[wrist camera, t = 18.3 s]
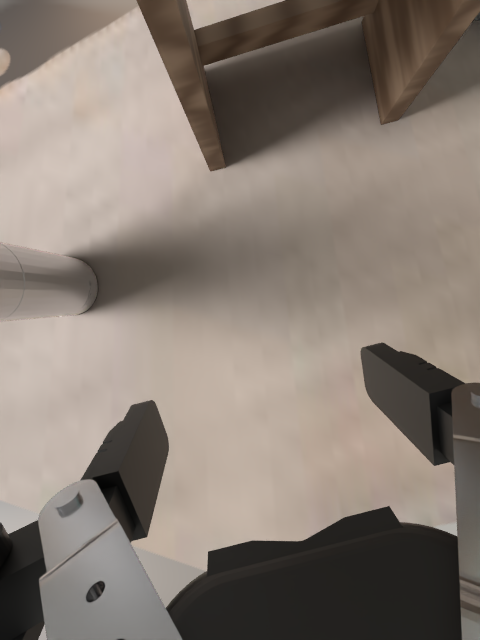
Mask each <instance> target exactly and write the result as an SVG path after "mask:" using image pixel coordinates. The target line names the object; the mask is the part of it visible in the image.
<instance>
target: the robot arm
mask: <svg viewBox="0 0 480 640" xmlns="http://www.w3.org/2000/svg"><path fill="white" fill-rule="evenodd" d="M97 291H98V284H97V279H96V276H95V274H94V272H93V270H92V269H91V268H90V266H88V265H87V264H86V263H85V262H83V261H81V260H79V259H76V258H72V257H67V256H63V255H58V254H54V253H49V252H44V251H39V250H35V249H30V248H25V247H20V246H16V245H11V244H6V243H1V242H0V322H1V321H13V320H24V319H36V318H47V317H59V316H70V315H78V314H81V313H83V312H85V311H86V310H88V309H89V308H90V307H91V306H92V304H93V303H94V301H95V299H96V296H97ZM361 360H362V367H363V374H364V381H365V387H366V390H367V393H368V395H369V397H370V399H371V400H372V402H373V403H374V404H375V405H376V406H377V407H378V408H379V409H380V410H381V411H382V412H383V413H384V414H385V415H386V416H387V417H388V418H389V419H390V420H391V421H392V422H393V423H394V424H395V426H396V427H397V428H398V429H399V430H400V431H401V432H402V433H403V434H404V435H405V436H406V437H407V438H408V439H409V440H410V441H411V442H412V443H413V444H414V445H415V446H416V447H417V448H418V449H419V450H420V452H421V453H422V454H423V455H424V456H425V457H426V458H427V459H428V460H429V461H430V462H431V463H432V464H433V465H434V466H436V465H440V464H444V463H448V462H451V463H452V464H453V465H454V468H455V490H456V513H457V534H458V537H457V536H455V535H452V534H450V533H448V532H445V531H442V530H439V529H436V528H433V527H429V526H424V525H420V524H413V523H403V522H399V521H398V519H397V518H396V516H395V514H394V513H393V511H392V510H391V508H390V507H389V506H388V507H384V508H380V509H376V510H372V511H368V512H364V513H360V514H356V515H352V516H348V517H345V518H343V519H341V520H339V521H338V522H336V523H334V524H332V525H330V526H329V527H327V528H325V529H323V530H322V531H320V532H318V533H316V534H315V535H313V536H311V537H309V538H308V539H306V540H303V541H249V542H245V543H241V544H237V545H233V546H229V547H225V548H221V549H217V550H213V551H209V552H208V569H207V571H206V572H204V573H203V574H201V575H200V576H198V577H197V578H196V579H194V580H193V581H191V582H190V583H189V584H188V585H187V586H186V587H185V588H184V589H183V590H181V591H180V592H179V593H178V594H177V596H176V597H175V598H174V599H173V600H172V601H171V602H170V604H169V605H168V606H167V607H166V608H165V607H164V604H163V603H162V601H161V599H160V597H159V595H158V593H157V591H156V590H155V588H154V586H153V584H152V582H151V580H150V578H149V577H148V575H147V573H146V571H145V569H144V567H143V565H142V564H141V562H140V560H139V558H138V556H137V554H136V552H135V551H134V549H133V547H132V545H131V541H134V540H138V539H141V538H145V537H147V535H148V531H149V527H150V523H151V519H152V515H153V511H154V507H155V503H156V499H157V496H158V492H159V488H160V484H161V480H162V476H163V472H164V468H165V464H166V460H167V456H168V451H169V443H168V437H167V433H166V431H165V428H164V425H163V422H162V420H161V417H160V414H159V411H158V409H157V406H156V404H155V402H154V401H153V400H150V401H146V402H142V403H138V404H134V405H132V406H131V407H130V409H129V411H128V413H127V414H126V416H125V418H124V420H123V421H120V422H119V423H118V424H117V425H116V426H115V427H114V428H113V429H112V430H111V431H110V432H109V433H108V435H107V436H106V438H105V440H104V441H103V444H102V445H101V446H100V448H99V450H98V453H96V455H95V457H94V458H93V460H92V462H91V463H90V465H89V467H88V468H87V470H86V472H85V473H84V475H83V477H82V478H81V480H80V481H78V482H75V483H73V484H71V485H69V486H67V487H66V488H64V489H62V490H61V491H60V492H58V493H57V494H56V495H55V496H53V497H52V498H51V499H50V500H49V501H48V502H47V504H46V505H45V506H44V507H43V509H42V510H41V512H40V514H39V518H38V520H37V521H35V522H33V523H31V524H29V525H27V526H25V527H23V528H21V529H19V530H17V531H14V532H12V533H10V534H8V533H7V532H6V530H5V528H4V527H3V525H2V524H1V523H0V640H38V638H39V636H40V634H41V631H42V629H43V626H44V624H45V629H46V636H47V640H480V383H466V384H465V383H464V382H462V381H460V380H458V379H457V378H455V377H453V376H451V375H450V374H448V373H446V372H444V371H443V370H441V369H439V368H436V366H434V365H432V364H430V363H427V361H425V360H423V359H422V358H420V357H418V356H416V355H413V354H409V353H406V352H402V351H400V352H398V351H396V350H395V349H393V348H391V347H390V346H388V345H386V344H385V343H378V344H374V345H370V346H366V347H363V348H362V349H361Z"/></svg>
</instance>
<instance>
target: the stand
mask: <svg viewBox="0 0 480 640" xmlns="http://www.w3.org/2000/svg"><path fill="white" fill-rule="evenodd" d="M137 2H138V5H139V7H140V9H141V12H142V14H143V16H144V19H145V21H146V23H147V26H148V28H149V30H150V33H151V35H152V37H153V40H154V42H155V44H156V46H157V49H158V51H159V53H160V56H161V58H162V60H163V63H164V65H165V67H166V70H167V72H168V74H169V77H170V79H171V81H172V84H173V86H174V88H175V91H176V93H177V95H178V98H179V100H180V102H181V104H182V107H183V109H184V111H185V114H186V116H187V118H188V121H189V123H190V125H191V128H192V130H193V132H194V135H195V137H196V139H197V142H198V144H199V146H200V149H201V151H202V153H203V155H204V158H205V160H206V162H207V165H208V167H209V169H210V171H214V170H217V169H221V168H225V167H226V165H225V161H224V156H223V152H222V147H221V143H220V138H219V133H218V129H217V124H216V120H215V115H214V111H213V106H212V102H211V97H210V92H209V88H208V83H207V79H206V74H205V70H204V65H208V64H211V63H214V62H217V61H220V60H224V59H227V58H230V57H233V56H237V55H240V54H243V53H246V52H249V51H253V50H256V49H259V48H262V47H265V46H269V45H272V44H275V43H278V42H281V41H285V40H288V39H291V38H294V37H298V36H301V35H304V34H307V33H310V32H314V31H317V30H320V29H323V28H326V27H330V26H333V25H336V24H339V23H342V22H346V21H349V20H352V19H355V18H359V17H362V16H364V17H363V20H362V27H363V32H364V37H365V43H366V48H367V53H368V59H369V64H370V69H371V74H372V80H373V85H374V90H375V96H376V101H377V106H378V112H379V117H380V122H381V125H382V124H386V123H390V122H393V121H397V120H399V119H400V117H401V116H402V115H403V113H404V112H405V111H406V109H407V108H408V107H409V105H410V104H411V103H412V101H413V100H414V99H415V97H416V96H417V95H418V93H419V92H420V91H421V89H422V88H423V87H424V85H425V84H426V83H427V81H428V80H429V79H430V77H431V76H432V75H433V73H434V72H435V71H436V69H437V68H438V67H439V65H440V64H441V63H442V61H443V60H444V59H445V57H446V56H447V55H448V53H449V52H450V51H451V49H452V48H453V47H454V45H455V44H456V43H457V41H458V40H459V39H460V37H461V36H462V35H463V33H464V32H465V31H466V29H467V28H468V27H469V25H470V24H471V23H472V21H473V20H474V19H475V17H476V16H477V15H478V13H479V12H480V0H285V1H282V2H279V3H276V4H273V5H270V6H267V7H264V8H261V9H258V10H255V11H252V12H248V13H245V14H242V15H239V16H236V17H233V18H230V19H227V20H224V21H221V22H218V23H215V24H212V25H208V26H205V27H202V28H199V29H196V30H194V28H193V25H192V21H191V17H190V13H189V10H188V6H187V2H186V0H137Z"/></svg>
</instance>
